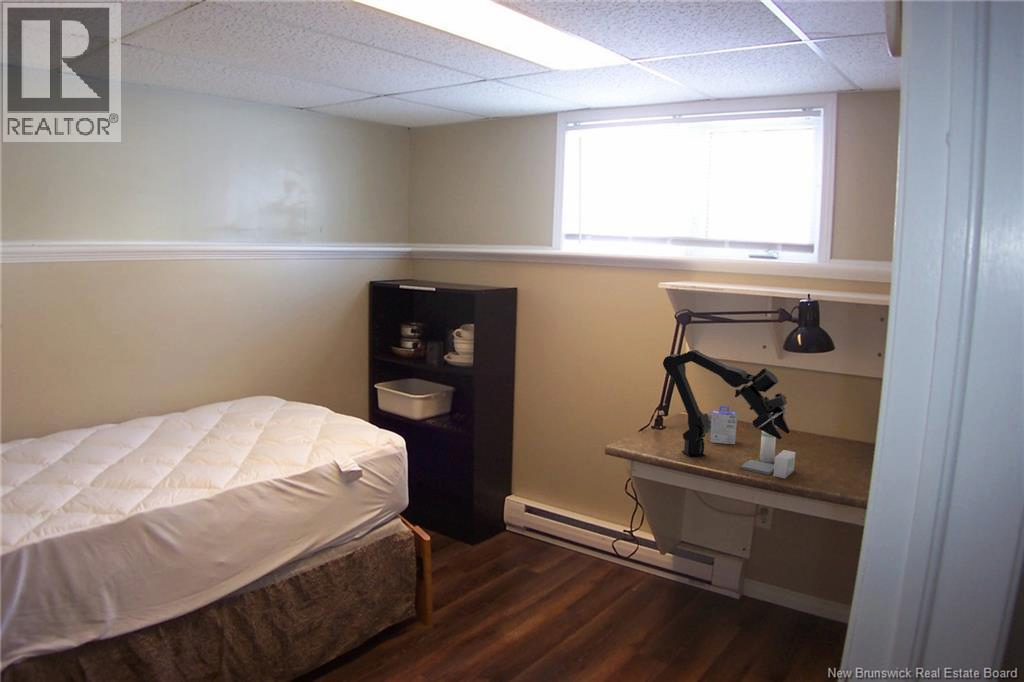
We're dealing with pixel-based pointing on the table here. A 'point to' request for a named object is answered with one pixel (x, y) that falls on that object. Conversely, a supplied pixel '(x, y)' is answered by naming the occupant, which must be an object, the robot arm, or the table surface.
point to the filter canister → (767, 447)
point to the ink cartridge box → (723, 426)
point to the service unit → (784, 464)
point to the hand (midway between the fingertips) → (785, 435)
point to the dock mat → (758, 467)
